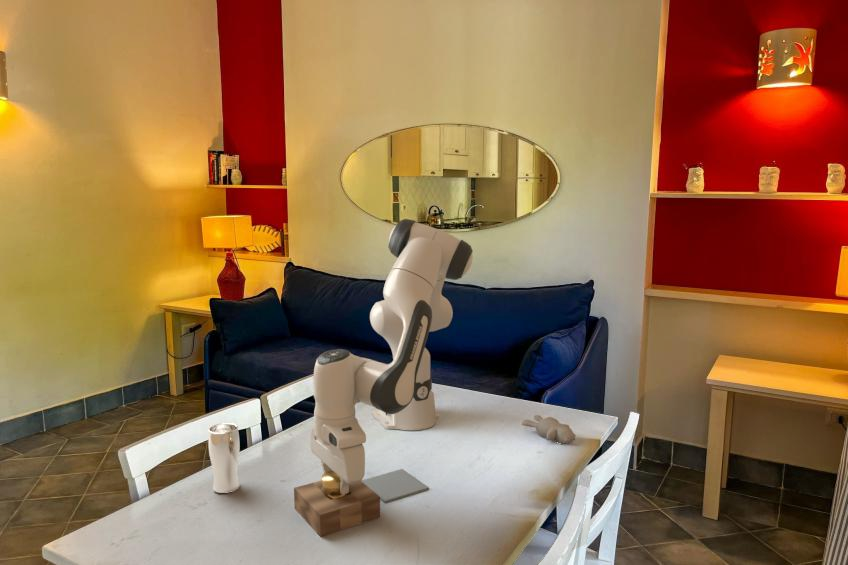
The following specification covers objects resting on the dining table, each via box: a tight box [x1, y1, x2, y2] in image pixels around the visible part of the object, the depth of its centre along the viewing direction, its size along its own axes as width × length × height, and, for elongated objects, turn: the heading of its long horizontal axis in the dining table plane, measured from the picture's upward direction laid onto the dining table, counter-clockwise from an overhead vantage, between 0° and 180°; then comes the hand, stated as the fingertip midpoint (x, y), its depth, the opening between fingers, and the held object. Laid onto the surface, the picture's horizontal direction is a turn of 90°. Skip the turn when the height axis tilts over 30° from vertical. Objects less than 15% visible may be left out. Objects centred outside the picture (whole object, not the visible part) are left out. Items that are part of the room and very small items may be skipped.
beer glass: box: [207, 422, 241, 493], centre depth 147 cm, size 7×7×15 cm
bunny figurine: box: [521, 414, 576, 445], centre depth 180 cm, size 10×5×15 cm
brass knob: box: [321, 470, 350, 500], centre depth 137 cm, size 6×6×8 cm
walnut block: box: [293, 479, 381, 538], centre depth 137 cm, size 14×14×5 cm
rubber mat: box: [361, 468, 430, 504], centre depth 150 cm, size 12×12×1 cm
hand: (336, 485), depth 137 cm, fingers closed on brass knob, 6 cm apart
